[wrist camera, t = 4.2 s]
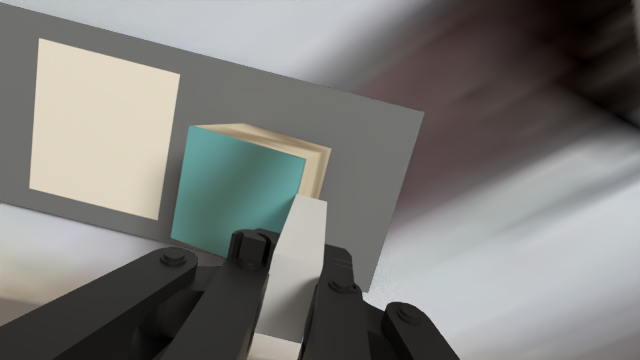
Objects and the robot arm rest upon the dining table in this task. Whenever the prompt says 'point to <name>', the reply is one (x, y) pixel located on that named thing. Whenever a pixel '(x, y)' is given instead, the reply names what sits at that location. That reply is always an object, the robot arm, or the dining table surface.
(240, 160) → the birch block
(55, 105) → the charcoal mat
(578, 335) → the dining table surface
